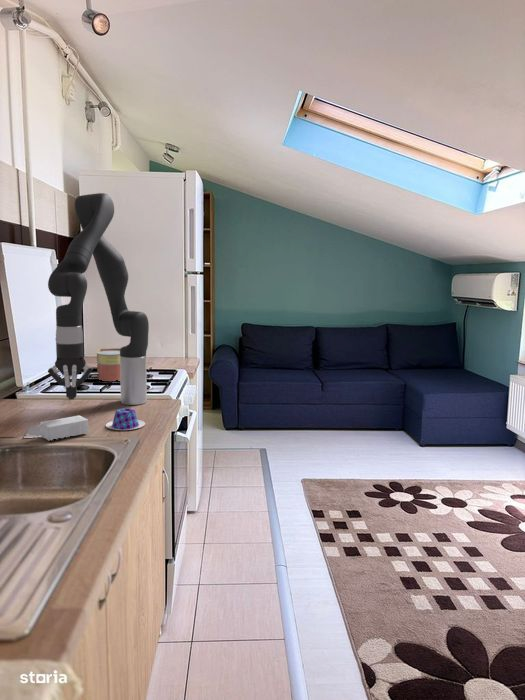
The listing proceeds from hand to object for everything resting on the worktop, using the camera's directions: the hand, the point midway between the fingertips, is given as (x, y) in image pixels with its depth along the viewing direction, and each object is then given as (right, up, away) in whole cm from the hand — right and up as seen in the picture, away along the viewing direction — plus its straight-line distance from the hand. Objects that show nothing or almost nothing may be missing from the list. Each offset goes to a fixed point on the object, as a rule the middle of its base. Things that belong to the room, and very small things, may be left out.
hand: (71, 398), depth 163 cm
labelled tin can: (-10, +5, +99) cm, 100 cm away
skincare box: (+4, -8, +1) cm, 8 cm away
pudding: (+14, -10, +9) cm, 19 cm away
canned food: (-9, +1, +75) cm, 75 cm away
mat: (-6, -10, 0) cm, 12 cm away
